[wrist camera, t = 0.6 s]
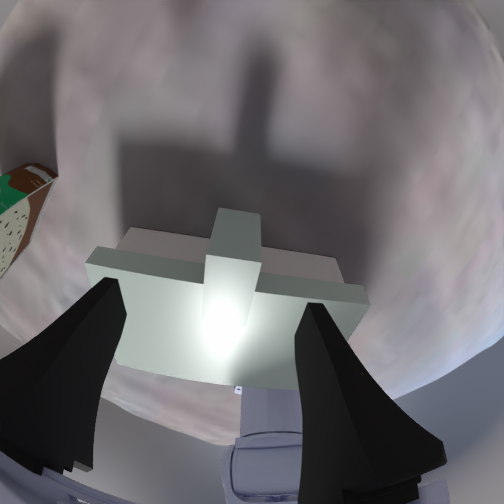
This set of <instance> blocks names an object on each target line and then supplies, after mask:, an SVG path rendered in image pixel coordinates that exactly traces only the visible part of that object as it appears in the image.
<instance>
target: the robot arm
mask: <svg viewBox="0 0 504 504" xmlns="http://www.w3.org/2000/svg"><path fill="white" fill-rule="evenodd" d="M126 317H127V312H126V309H125V305H124V301H123V297H122V293H121V289H120V285H119V281H118V279H115V278H109V277H104V278H103V279H101V280H100V281H99V282H98V283H97V284H96V285H94V286H93V287H92V288H91V289H90V290H89V291H88V292H87V293H86V294H85V295H83V296H82V297H81V298H80V299H79V300H78V301H77V302H76V303H75V304H73V305H72V306H71V307H70V308H69V309H68V310H67V311H66V312H65V313H63V314H62V315H61V316H60V317H59V318H58V319H56V320H55V321H54V322H53V323H52V324H51V325H49V326H48V327H47V328H46V329H45V330H43V331H42V332H41V333H40V334H38V335H37V336H36V337H34V338H33V339H32V340H30V341H29V342H27V343H26V344H25V345H23V346H21V347H20V348H18V349H17V350H15V351H14V352H12V353H11V354H9V355H7V356H6V357H4V358H2V359H0V504H87V503H90V504H139V503H136V502H132V501H128V500H125V499H122V498H119V497H115V496H113V495H110V494H107V493H104V492H101V491H99V490H96V489H93V488H91V487H88V486H86V485H83V484H81V483H79V482H77V481H74V480H72V479H70V478H68V477H66V476H64V475H63V470H64V469H65V470H67V471H69V472H72V469H73V467H75V468H78V469H80V470H83V471H85V472H88V471H91V470H92V469H93V443H94V432H95V423H96V416H97V410H98V405H99V400H100V395H101V391H102V387H103V384H104V381H105V378H106V375H107V372H108V370H109V367H110V364H111V362H112V359H113V357H114V354H115V352H116V349H117V346H118V344H119V341H120V339H121V336H122V332H123V329H124V325H125V321H126ZM294 345H295V364H296V372H297V379H298V386H299V390H281V389H264V388H251V387H240V386H235V389H234V392H235V393H237V394H242V396H241V421H240V438H235V445H230V446H229V447H228V449H227V450H226V451H225V452H224V454H223V458H222V464H221V478H222V484H223V487H224V490H225V498H226V503H227V504H450V500H449V492H448V486H447V480H446V477H442V478H439V479H437V480H434V481H432V482H430V483H427V484H424V485H421V486H418V485H417V483H420V482H421V475H422V474H424V473H427V472H429V471H431V470H434V469H436V468H438V467H440V466H443V465H445V464H446V463H447V458H446V454H445V450H444V445H443V442H442V441H441V440H439V439H438V438H437V437H435V436H434V435H432V434H430V433H429V432H428V431H426V430H425V429H424V428H423V427H421V426H420V425H419V424H418V423H416V422H415V421H414V420H413V419H412V418H410V417H409V416H408V415H407V414H406V413H405V412H404V411H403V410H402V409H401V408H400V407H399V406H398V405H397V404H396V403H395V402H394V401H393V400H392V399H391V398H390V397H389V396H388V395H387V394H386V393H385V392H384V391H383V390H382V388H381V387H380V386H379V385H378V384H377V383H376V381H375V380H374V379H373V378H372V376H371V375H370V374H369V373H368V371H367V370H366V369H365V367H364V366H363V364H362V363H361V362H360V360H359V359H358V357H357V356H356V355H355V353H354V352H353V350H352V349H351V347H350V346H349V344H348V343H347V341H346V340H345V338H344V336H343V335H342V333H341V332H340V330H339V328H338V327H337V325H336V323H335V322H334V320H333V319H332V317H331V315H330V314H329V312H328V310H327V309H326V307H325V306H324V304H323V303H313V302H307V305H306V308H305V310H304V313H303V315H302V318H301V320H300V323H299V325H298V328H297V330H296V333H295V335H294ZM295 493H298V494H295ZM281 494H289V495H281ZM256 495H270V496H256ZM77 498H78V499H80V500H83V501H85V502H87V503H83V502H79V501H78V500H77Z"/></svg>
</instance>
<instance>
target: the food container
mask: <svg viewBox="0 0 504 504" xmlns="http://www.w3.org/2000/svg"><path fill="white" fill-rule="evenodd" d="M58 177H59V176H58V175H56V174H55V173H54V172H53V171H52V170H51V169H49V168H47V167H45V166H42V165H40V164H38V163H33V164H25V165H23V166H20V167H18V168H16V169H14V170H12V171H10V172H8V173H6V174H4V175H2V176H0V280H1V279H2V277H3V276H4V275H5V273H6V272H7V271H8V270H9V268H10V267H11V266H12V265H13V263H14V262H15V261H16V260H17V258H18V257H19V256H20V255H21V254H22V252H23V251H24V250H25V249H26V248H27V247H28V245H29V244H30V243H31V241H32V238H33V235H34V232H35V230H36V227H37V224H38V222H39V219H40V217H41V214H42V212H43V209H44V207H45V205H46V202H47V200H48V198H49V195H50V193H51V191H52V189H53V187H54V185H55V183H56V181H57V179H58Z"/></svg>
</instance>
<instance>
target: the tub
mask: <svg viewBox="0 0 504 504" xmlns="http://www.w3.org/2000/svg"><path fill="white" fill-rule="evenodd" d="M209 242H210V239H209V238H203V237H196V236H189V235H182V234H176V233H169V232H162V231H155V230H148V229H141V228H134V227H130V229H129V230H128V231H127V233H126V234H125V236H124V237H123V238H122V240H121V241H120V243H119V244H118V246H117V247H116V248H115V249H117V250H123V251H129V252H135V253H141V254H147V255H153V256H159V257H166V258H172V259H178V260H184V261H191V262H197V263H204V264H205V262H206V253H207V249H208V245H209ZM261 251H262V264H261V268H260V272H265V273H272V274H279V275H286V276H294V277H301V278H308V279H316V280H324V281H331V282H339V283H344V280H343V277H342V275H341V272H340V269H339V267H338V264H337V261H336V259H335V258H333V257H326V256H320V255H314V254H307V253H301V252H294V251H288V250H281V249H275V248H269V247H262V246H261Z"/></svg>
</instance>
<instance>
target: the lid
mask: <svg viewBox="0 0 504 504" xmlns="http://www.w3.org/2000/svg"><path fill="white" fill-rule="evenodd" d="M261 264H262V251H261V215H260V214H257V213H251V212H245V211H238V210H232V209H225V208H218V212H217V215H216V219H215V223H214V227H213V230H212V234H211V238H210V242H209V245H208V249H207V253H206V262H205V264H204V263H197V262H191V261H184V260H178V259H172V258H166V257H159V256H153V255H147V254H141V253H135V252H129V251H123V250H117V249H111V248H106V247H100V246H97V247H96V248H95V250H94V251H93V252H92V254H91V255H90V257H89V258H88V259H87V261H86V262H85V265H86V269H87V273H88V277H89V281H90V285H91V288H92V287H93V286H94V285H96V284H97V283H98V282H99V281H100V280H101V279H103V278H104V277H109V278H115V279H118V281H119V285H120V289H121V293H122V297H123V301H124V305H125V309H126V312H127V317H126V321H125V325H124V329H123V332H122V336H121V339H120V341H119V344H118V346H117V349H116V352H115V354H114V356H115V359H116V361H117V363H118V364H119V365H123V366H127V367H131V368H135V369H139V370H143V371H148V372H152V373H157V374H161V375H166V376H171V377H177V378H182V379H188V380H194V381H200V382H207V383H214V384H222V385H231V386H240V387H251V388H264V389H281V390H299V386H298V379H297V372H296V364H295V345H294V335H295V333H296V330H297V328H298V325H299V323H300V320H301V318H302V315H303V313H304V310H305V308H306V305H307V302H313V303H323V304H324V306H325V307H326V309H327V310H328V312H329V314H330V315H331V317H332V319H333V320H334V322H335V323H336V325H337V327H338V328H339V330H340V332H341V333H342V335H343V336H344V338H345V340H346V341H348V339H349V338H350V336H351V335H352V333H353V332H354V330H355V329H356V327H357V325H358V324H359V322H360V321H361V319H362V318H363V316H364V314H365V313H366V311H367V310H368V308H369V306H370V305H371V304H370V302H369V299H368V297H367V294H366V292H365V290H364V287H363V285H355V284H347V283H339V282H331V281H324V280H316V279H308V278H301V277H294V276H286V275H279V274H272V273H265V272H260V268H261Z"/></svg>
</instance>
